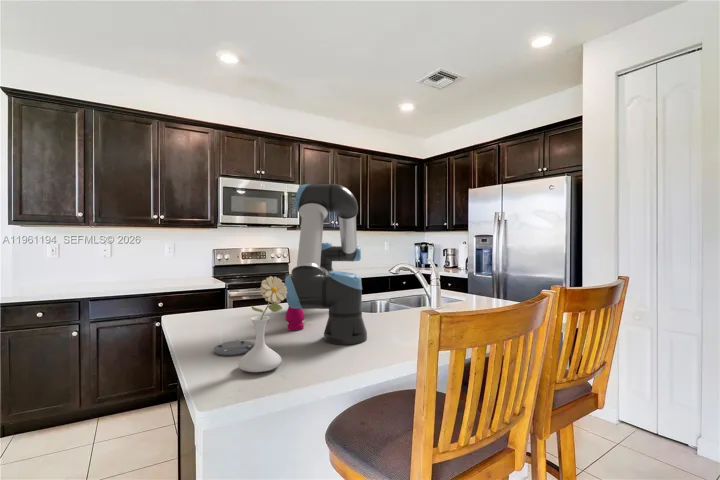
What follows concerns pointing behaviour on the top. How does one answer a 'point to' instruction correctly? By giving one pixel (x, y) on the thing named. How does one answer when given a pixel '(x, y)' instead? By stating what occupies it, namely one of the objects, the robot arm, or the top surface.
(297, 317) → the pepper mill
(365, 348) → the top surface
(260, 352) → the flower in vase
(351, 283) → the robot arm
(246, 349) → the flange plate
